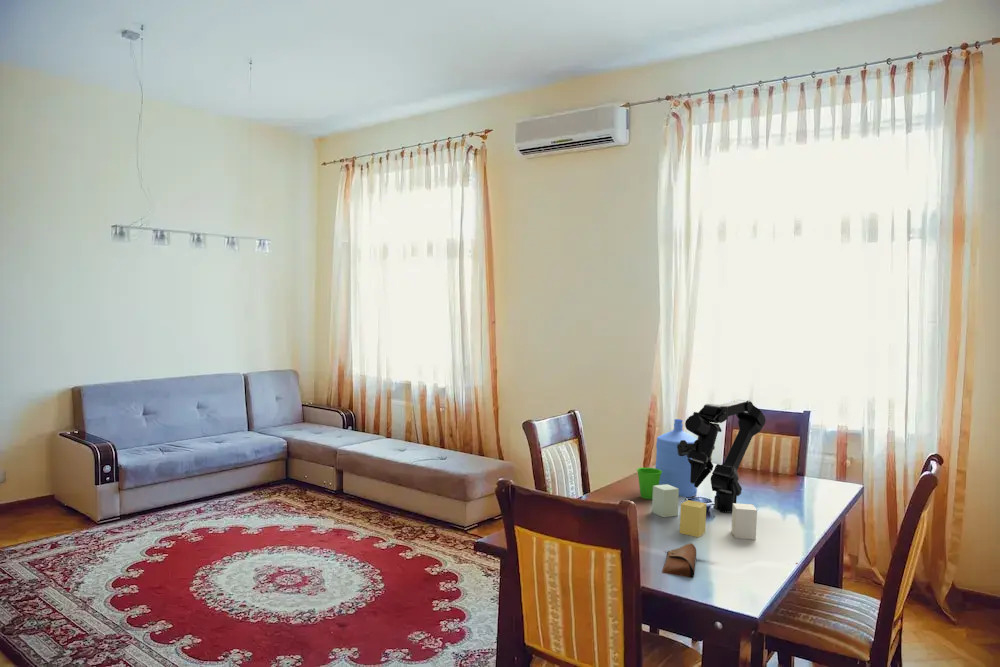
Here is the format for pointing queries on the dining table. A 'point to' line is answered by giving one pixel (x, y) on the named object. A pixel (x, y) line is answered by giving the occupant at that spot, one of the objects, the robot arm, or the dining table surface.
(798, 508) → the dining table surface
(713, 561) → the dining table surface
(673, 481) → the water jug
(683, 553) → the sunglasses case
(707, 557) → the dining table surface
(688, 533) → the mustard block
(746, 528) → the cream block
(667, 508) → the sage block
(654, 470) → the cup
